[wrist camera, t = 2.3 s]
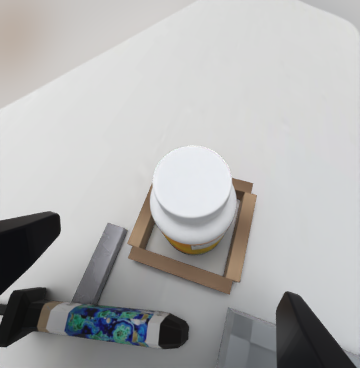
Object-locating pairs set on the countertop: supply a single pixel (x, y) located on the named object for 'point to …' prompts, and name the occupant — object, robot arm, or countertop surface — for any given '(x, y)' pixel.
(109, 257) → the bar
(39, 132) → the countertop surface
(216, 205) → the supplement bottle
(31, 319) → the knife
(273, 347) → the tray
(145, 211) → the socket collar
